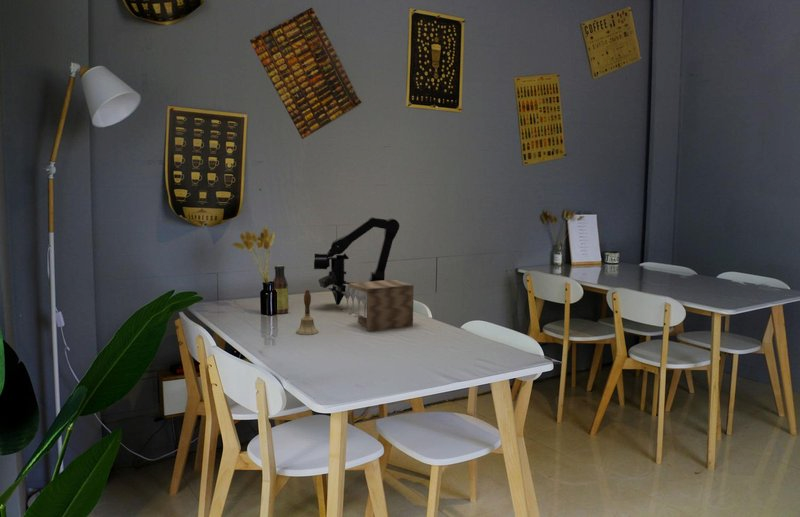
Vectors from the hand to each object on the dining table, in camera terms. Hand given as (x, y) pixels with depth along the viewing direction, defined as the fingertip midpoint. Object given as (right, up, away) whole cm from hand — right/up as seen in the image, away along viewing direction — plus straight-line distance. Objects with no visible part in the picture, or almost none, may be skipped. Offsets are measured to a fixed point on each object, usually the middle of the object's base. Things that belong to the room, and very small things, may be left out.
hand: (337, 304), depth 292 cm
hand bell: (-7, -8, -43) cm, 44 cm away
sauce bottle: (-23, -3, -10) cm, 25 cm away
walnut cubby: (+20, -6, -30) cm, 36 cm away
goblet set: (+10, -4, -15) cm, 18 cm away
